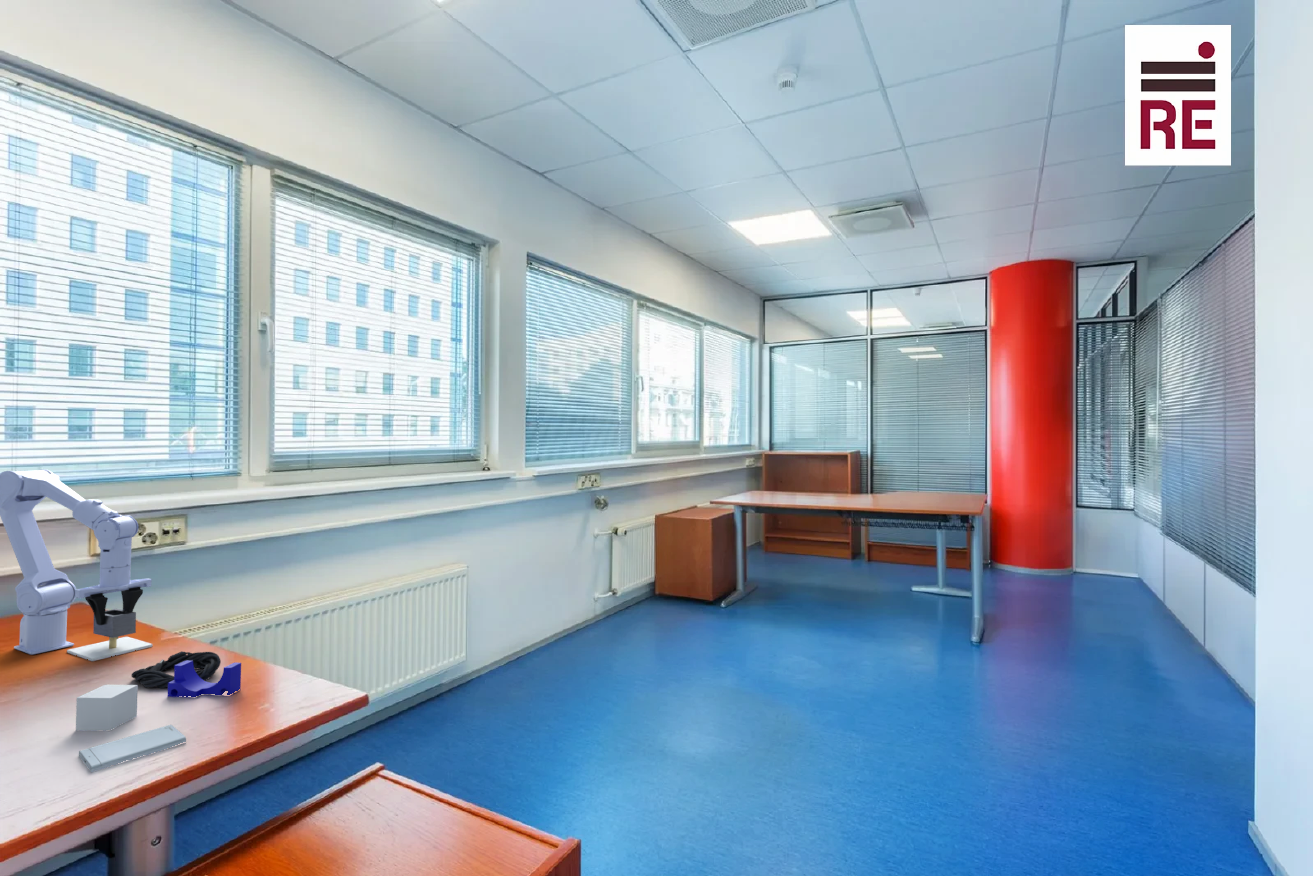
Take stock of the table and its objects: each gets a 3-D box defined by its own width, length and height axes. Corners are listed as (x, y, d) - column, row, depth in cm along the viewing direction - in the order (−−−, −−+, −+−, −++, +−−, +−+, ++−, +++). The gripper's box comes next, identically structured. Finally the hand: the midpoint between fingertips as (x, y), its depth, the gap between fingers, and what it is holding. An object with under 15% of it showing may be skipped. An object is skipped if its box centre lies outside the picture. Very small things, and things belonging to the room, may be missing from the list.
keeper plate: (66, 652, 149) (67, 637, 149) (126, 638, 160) (127, 624, 160) (92, 661, 144) (92, 645, 144) (152, 646, 155) (152, 632, 155)
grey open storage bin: (93, 633, 151) (93, 612, 151) (116, 628, 155) (116, 608, 155) (112, 638, 147) (112, 616, 147) (135, 632, 151) (135, 612, 151)
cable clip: (167, 697, 126) (168, 668, 126) (185, 689, 130) (186, 660, 130) (224, 700, 125) (225, 670, 125) (240, 691, 130) (241, 662, 130)
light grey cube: (109, 731, 111) (110, 698, 111) (75, 731, 111) (76, 697, 111) (136, 716, 117) (137, 684, 117) (104, 716, 117) (105, 684, 117)
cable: (231, 678, 137) (232, 658, 137) (153, 699, 125) (154, 677, 125) (198, 661, 146) (198, 643, 146) (123, 679, 135) (123, 659, 135)
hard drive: (170, 723, 112) (78, 749, 102) (186, 736, 107) (91, 765, 97) (170, 732, 112) (78, 759, 102) (186, 746, 107) (90, 776, 97)
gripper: (86, 573, 143) (84, 632, 143) (158, 563, 156) (157, 616, 156) (71, 569, 146) (69, 627, 146) (143, 560, 159) (141, 612, 159)
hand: (113, 621), depth 151 cm, fingers closed on grey open storage bin, 5 cm apart
